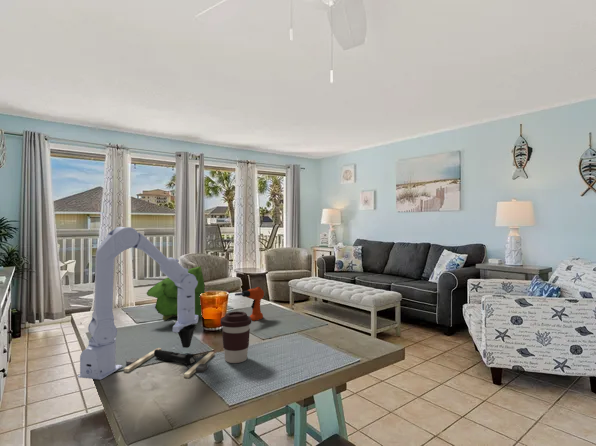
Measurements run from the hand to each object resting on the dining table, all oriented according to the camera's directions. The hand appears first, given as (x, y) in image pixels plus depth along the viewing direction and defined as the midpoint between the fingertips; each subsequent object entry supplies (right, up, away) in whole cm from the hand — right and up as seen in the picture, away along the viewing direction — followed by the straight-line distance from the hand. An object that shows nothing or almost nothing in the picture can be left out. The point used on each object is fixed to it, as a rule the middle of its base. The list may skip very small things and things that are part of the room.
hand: (186, 346), depth 127 cm
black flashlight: (-2, -3, -7) cm, 8 cm away
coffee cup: (+18, -2, -6) cm, 19 cm away
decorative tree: (-17, -2, +41) cm, 45 cm away
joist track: (-2, -2, -9) cm, 10 cm away
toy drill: (+17, -2, +39) cm, 43 cm away
